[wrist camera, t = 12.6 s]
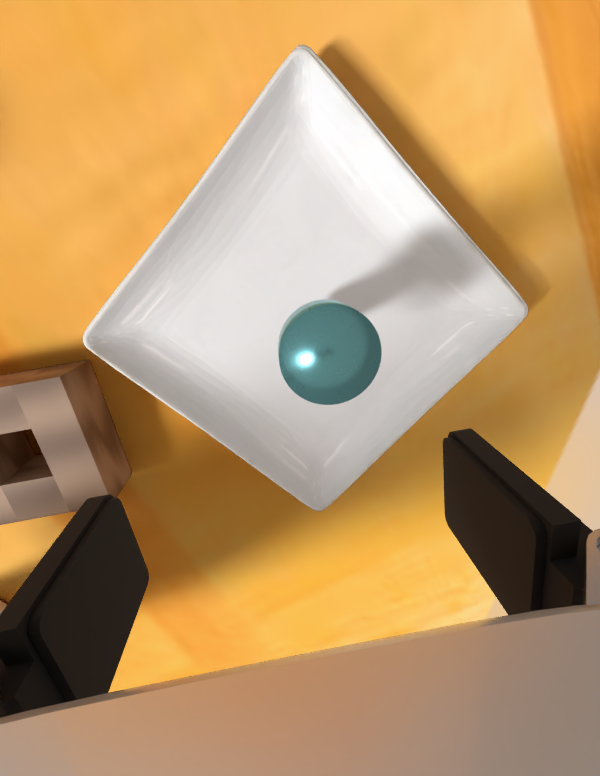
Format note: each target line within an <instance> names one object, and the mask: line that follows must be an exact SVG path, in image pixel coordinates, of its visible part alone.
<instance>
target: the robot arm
mask: <svg viewBox="0 0 600 776" xmlns="http://www.w3.org/2000/svg"><path fill="white" fill-rule="evenodd" d="M443 464H444V501H445V518H446V521H447V524H448V526H449V528H450V529H451V531H452V532H453V534H454V535H455V537H456V538H457V540H458V541H459V543H460V544H461V545H462V547H463V548H464V550H465V551H466V553H467V554H468V556H469V557H470V559H471V560H472V562H473V563H474V565H475V566H476V568H477V569H478V571H479V572H480V574H481V575H482V577H483V578H484V579H485V581H486V582H487V584H488V585H489V587H490V588H491V590H492V591H493V593H494V594H495V596H496V597H497V599H498V600H499V602H500V603H501V605H502V606H503V608H504V609H505V611H506V612H507V613H508V616H502V617H496V618H490V619H484V620H478V621H473V622H467V623H461V624H456V625H451V626H446V627H440V628H435V629H430V630H425V631H419V632H414V633H409V634H404V635H398V636H393V637H388V638H383V639H377V640H372V641H367V642H362V643H356V644H351V645H346V646H341V647H336V648H331V649H326V650H320V651H315V652H310V653H305V654H300V655H295V656H290V657H285V658H280V659H275V660H269V661H264V662H259V663H254V664H249V665H244V666H239V667H234V668H229V669H224V670H219V671H214V672H209V673H204V674H199V675H194V676H189V677H184V678H179V679H175V680H170V681H165V682H160V683H155V684H150V685H145V686H140V687H135V688H130V689H125V690H120V691H115V692H110V693H108V691H109V689H110V686H111V683H112V680H113V678H114V675H115V672H116V670H117V667H118V664H119V661H120V659H121V656H122V653H123V650H124V648H125V645H126V642H127V640H128V637H129V634H130V631H131V629H132V626H133V623H134V620H135V618H136V615H137V612H138V609H139V607H140V604H141V601H142V599H143V596H144V593H145V590H146V588H147V585H148V580H149V574H148V569H147V567H146V564H145V562H144V559H143V556H142V554H141V551H140V549H139V546H138V544H137V541H136V538H135V536H134V533H133V531H132V528H131V526H130V523H129V520H128V518H127V515H126V513H125V510H124V508H123V505H122V503H121V501H120V499H118V498H114V497H113V496H112V495H110V494H108V495H103V496H97V497H92V498H88V499H87V500H86V501H85V502H84V503H83V505H82V506H81V507H80V509H79V510H78V511H77V513H76V514H75V515H74V517H73V518H72V519H71V521H70V522H69V523H68V525H67V526H66V527H65V529H64V530H63V531H62V533H61V534H60V535H59V537H58V538H57V539H56V541H55V542H54V543H53V545H52V546H51V547H50V549H49V550H48V551H47V553H46V554H45V555H44V557H43V558H42V559H41V561H40V562H39V563H38V565H37V566H36V567H35V569H34V570H33V571H32V573H31V574H30V575H29V577H28V578H27V579H26V581H25V582H24V583H23V585H22V586H21V587H20V589H19V590H18V591H17V593H16V594H15V595H14V597H13V598H12V599H11V601H10V602H9V603H8V605H7V604H6V603H4V602H2V601H0V776H600V529H597V530H594V531H592V530H591V529H589V528H588V527H587V526H586V525H585V524H584V523H582V522H581V520H580V519H579V518H578V517H576V516H575V515H574V514H573V513H572V512H570V511H569V510H568V509H567V508H566V507H564V506H563V505H562V504H561V503H560V502H558V501H557V500H556V499H555V498H554V497H552V496H551V495H550V494H549V493H548V492H546V491H545V490H544V489H543V488H542V487H540V486H539V485H538V484H537V483H536V482H535V481H533V480H532V479H531V478H530V477H529V476H527V475H526V474H525V473H524V472H523V471H521V470H520V469H519V468H518V467H517V466H515V465H514V464H513V463H512V462H511V461H509V460H508V459H507V458H506V457H505V456H503V455H502V454H501V453H500V452H499V451H497V450H496V449H495V448H494V447H493V446H491V445H490V444H489V443H488V442H487V441H485V440H484V439H483V438H482V437H481V436H479V435H478V434H477V433H476V432H475V431H473V430H472V429H464V430H459V431H453V432H450V433H449V435H448V438H444V440H443Z"/></svg>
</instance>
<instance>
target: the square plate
mask: <svg viewBox="0 0 600 776" xmlns="http://www.w3.org/2000/svg"><path fill="white" fill-rule="evenodd" d="M322 299H331V300H337V301H340V302H343V303H345V304H347V305H349V306H351V307H352V308H354V309H356V310H357V311H359V312H360V313H362V314H363V315H364V316H365V317H367V318H368V319H369V320H370V322H371V323H372V324H373V326H374V327H375V329H376V331H377V333H378V335H379V338H380V342H381V350H382V355H381V362H380V367H379V369H378V372H377V374H376V376H375V378H374V380H373V381H372V383H371V384H370V385H369V386H368V387H367V389H366V390H364V391H363V392H362V393H361V394H360V395H358V396H357V397H355V398H353V399H351V400H349V401H347V402H344V403H340V404H334V405H321V404H316V403H312V402H309V401H307V400H305V399H303V398H301V397H300V396H298V395H297V394H296V393H295V392H294V391H292V390H291V388H290V387H289V386H288V385H287V383H286V381H285V380H284V378H283V375H282V373H281V369H280V365H279V356H278V340H279V335H280V332H281V329H282V327H283V325H284V323H285V322H286V320H287V319H288V317H289V316H290V315H291V314H292V313H293V312H294V311H295V310H297V309H298V308H299V307H301V306H303V305H305V304H307V303H309V302H312V301H316V300H322ZM527 314H528V306H527V304H526V302H525V301H524V300H523V298H522V297H521V296H520V294H519V293H518V292H517V291H516V290H515V288H514V287H513V286H512V285H511V284H510V282H509V281H508V280H507V279H506V278H505V276H504V275H503V274H502V273H501V272H500V271H499V270H498V269H497V267H496V266H495V265H494V264H493V263H492V262H491V261H490V259H489V258H488V257H487V256H486V255H485V254H484V253H483V251H482V250H481V249H480V248H479V247H478V246H477V245H476V243H475V242H474V241H473V240H472V239H471V238H470V237H469V235H468V234H467V233H466V232H465V231H464V230H463V228H462V227H461V226H460V225H459V224H458V223H457V222H456V220H455V219H454V218H453V217H452V216H451V215H450V214H449V212H448V211H447V210H446V209H445V208H444V207H443V205H442V204H441V203H440V202H439V201H438V199H437V198H436V197H435V196H434V195H433V193H432V192H431V191H430V190H429V189H428V188H427V186H426V185H425V184H424V183H423V182H422V180H421V179H420V178H419V177H418V176H417V174H416V173H415V172H414V171H413V170H412V168H411V167H410V166H409V165H408V164H407V162H406V161H405V160H404V159H403V157H402V156H401V155H400V154H399V153H398V151H397V150H396V149H395V148H394V147H393V145H392V144H391V143H390V142H389V141H388V139H387V138H386V137H385V136H384V134H383V133H382V132H381V131H380V129H379V128H378V127H377V126H376V124H375V123H374V122H373V121H372V119H371V118H370V117H369V116H368V115H367V113H366V112H365V111H364V110H363V109H362V107H361V106H360V105H359V104H358V103H357V101H356V100H355V99H354V98H353V96H352V95H351V94H350V93H349V91H348V90H347V89H346V88H345V87H344V85H343V84H342V83H341V82H340V81H339V80H338V78H337V77H336V76H335V75H334V74H333V72H332V71H331V70H330V69H329V68H328V67H327V66H326V65H325V63H324V62H323V61H322V60H321V59H320V58H319V57H318V56H317V55H316V54H315V52H314V51H313V50H312V49H311V48H310V47H308V46H305V45H299V46H298V47H297V48H295V49H294V50H293V51H292V52H291V54H290V55H289V56H288V57H287V58H286V60H285V61H284V62H283V63H282V65H281V66H280V67H279V69H278V70H277V71H276V73H275V74H274V75H273V77H272V78H271V79H270V81H269V82H268V84H267V85H266V86H265V88H264V89H263V91H262V92H261V93H260V95H259V96H258V97H257V99H256V101H255V102H254V104H253V105H252V106H251V107H250V109H249V110H248V112H247V113H246V115H245V116H244V118H243V119H242V121H241V122H240V123H239V125H238V126H237V128H236V129H235V131H234V132H233V134H232V135H231V136H230V138H229V139H228V141H227V142H226V144H225V145H224V146H223V148H222V149H221V151H220V152H219V154H218V155H217V156H216V158H215V159H214V161H213V162H212V163H211V165H210V166H209V168H208V169H207V170H206V172H205V173H204V175H203V176H202V177H201V179H200V180H199V181H198V183H197V184H196V186H195V187H194V188H193V190H192V191H191V193H190V194H189V195H188V197H187V198H186V199H185V201H184V202H183V203H182V205H181V206H180V207H179V209H178V210H177V211H176V213H175V214H174V215H173V217H172V218H171V219H170V221H169V222H168V223H167V225H166V226H165V227H164V229H163V230H162V231H161V232H160V234H159V235H158V236H157V238H156V239H155V240H154V241H153V243H152V244H151V245H150V247H149V248H148V249H147V251H146V252H145V253H144V254H143V256H142V257H141V258H140V260H139V261H138V262H137V263H136V265H135V266H134V267H133V268H132V270H131V271H130V272H129V274H128V275H127V276H126V277H125V278H124V280H123V281H122V282H121V283H120V285H119V286H118V287H117V289H116V290H115V291H114V292H113V294H112V295H111V296H110V297H109V299H108V300H107V301H106V303H105V304H104V305H103V307H102V308H101V309H100V311H99V312H98V313H97V315H96V316H95V318H94V319H93V320H92V322H91V323H90V324H89V326H88V327H87V329H86V331H85V332H84V335H83V343H84V345H85V346H86V348H88V349H89V350H90V351H91V352H92V353H94V354H95V355H96V356H98V357H99V358H101V359H102V360H103V361H105V362H106V363H107V364H109V365H110V366H112V367H113V368H114V369H116V370H117V371H119V372H120V373H122V374H123V375H125V376H126V377H127V378H129V379H130V380H132V381H133V382H135V383H136V384H137V385H139V386H140V387H142V388H143V389H145V390H146V391H148V392H149V393H151V394H152V395H153V396H155V397H156V398H158V399H159V400H160V401H162V402H163V403H165V404H166V405H168V406H169V407H171V408H172V409H173V410H175V411H176V412H178V413H179V414H180V415H182V416H183V417H185V418H186V419H188V420H189V421H191V422H192V423H193V424H195V425H196V426H198V427H199V428H200V429H202V430H203V431H205V432H206V433H207V434H209V435H210V436H212V437H213V438H214V439H216V440H217V441H219V442H220V443H221V444H223V445H224V446H225V447H227V448H228V449H230V450H231V451H232V452H234V453H235V454H236V455H238V456H239V457H240V458H242V459H243V460H245V461H246V462H247V463H249V464H250V465H251V466H253V467H254V468H255V469H257V470H258V471H260V472H261V473H262V474H264V475H265V476H266V477H268V478H269V479H270V480H272V481H273V482H275V483H276V484H277V485H279V486H280V487H281V488H283V489H284V490H285V491H287V492H288V493H290V494H291V495H293V496H294V497H295V498H297V499H298V500H299V501H301V502H302V503H304V504H305V505H307V506H308V507H310V508H312V509H313V510H315V511H322V510H324V509H326V508H327V507H328V506H329V505H330V504H331V503H332V502H334V501H335V500H336V499H337V498H338V497H339V496H340V495H341V494H342V493H343V492H344V491H345V490H346V489H347V488H349V487H350V486H351V485H352V484H353V483H354V482H355V481H356V480H357V479H358V478H359V477H360V476H361V475H362V474H363V473H364V472H365V471H366V470H367V469H368V468H369V467H370V466H371V465H372V464H373V463H374V462H375V461H376V460H377V459H378V458H379V457H380V456H381V455H382V454H383V453H385V452H386V451H387V450H388V449H389V448H390V447H391V446H392V445H393V444H394V443H395V442H396V441H397V440H398V439H399V438H400V437H401V436H402V435H403V434H404V433H405V432H406V431H407V430H408V429H409V428H410V427H411V426H413V425H414V424H415V423H416V422H417V421H418V420H419V419H420V418H421V417H422V416H423V415H424V414H425V413H426V412H427V411H428V410H429V409H430V408H431V407H432V406H433V405H435V404H436V403H437V402H438V401H439V400H440V399H441V398H442V397H443V396H444V395H445V394H446V393H447V392H448V391H449V390H450V389H452V388H453V387H454V386H455V385H456V384H457V383H458V382H459V381H460V380H461V379H462V378H463V377H464V376H466V375H467V374H468V373H469V372H470V371H471V370H472V369H473V368H474V367H475V366H476V365H477V364H478V363H479V362H480V361H481V360H482V359H484V358H485V357H486V356H487V355H488V354H489V353H490V352H491V351H492V350H493V349H494V348H495V347H496V346H497V345H499V344H500V343H501V342H502V341H503V340H504V339H505V338H506V337H507V336H508V335H509V334H510V333H511V332H512V331H513V330H514V329H515V328H516V327H517V326H518V325H519V324H520V323H521V322H522V321H523V320H524V319H525V317H526V316H527Z"/></svg>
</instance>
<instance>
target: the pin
mask: <svg viewBox="0 0 600 776" xmlns="http://www.w3.org/2000/svg"><path fill="white" fill-rule="evenodd" d="M381 355H382V350H381V342H380V338H379V335H378V333H377V331H376V329H375V327H374V326H373V324H372V323H371V322H370V320H369V319H368V318H367V317H365V316H364V315H363V314H362V313H360V312H359V311H357V310H356V309H354V308H352V307H351V306H349V305H347V304H345V303H343V302H340V301H337V300H331V299H322V300H316V301H312V302H309V303H307V304H305V305H303V306H301V307H299V308H298V309H297V310H295V311H294V312H293V313H292V314H291V315H290V316H289V317H288V319H287V320H286V322H285V323H284V325H283V327H282V329H281V332H280V335H279V340H278V356H279V365H280V369H281V373H282V375H283V378H284V380H285V381H286V383H287V385H288V386H289V387H290V388H291V390H292V391H294V392H295V393H296V394H297V395H298V396H300V397H301V398H303V399H305V400H307V401H309V402H312V403H316V404H321V405H334V404H340V403H344V402H347V401H349V400H351V399H353V398H355V397H357V396H358V395H360V394H361V393H362V392H363V391H364V390H366V389H367V387H368V386H369V385H370V384H371V383H372V381H373V380H374V378H375V376H376V374H377V372H378V369H379V367H380V362H381Z"/></svg>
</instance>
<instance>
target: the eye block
mask: <svg viewBox="0 0 600 776" xmlns="http://www.w3.org/2000/svg"><path fill="white" fill-rule="evenodd" d="M28 429H31V430H32V432H33V434H34V436H35V438H36V440H37V442H38V445H39V447H40V449H41V451H42V453H43V454H41V455H36V456H35V453H34V451H33V449H32V447H31V445H30V443H29V441H28V439H27V437H26V435H25V432H24V430H28ZM131 474H132V471H131V468H130V466H129V463H128V460H127V458H126V455H125V452H124V450H123V447H122V444H121V442H120V439H119V437H118V434H117V431H116V429H115V426H114V423H113V421H112V418H111V415H110V413H109V410H108V407H107V405H106V402H105V399H104V397H103V394H102V391H101V389H100V386H99V384H98V381H97V378H96V376H95V373H94V370H93V368H92V365H91V362H90V360H84V361H78V362H73V363H67V364H62V365H56V366H50V367H45V368H39V369H34V370H28V371H22V372H17V373H11V374H5V375H0V525H2V524H8V523H13V522H18V521H24V520H29V519H35V518H40V517H46V516H51V515H56V514H62V513H67V512H73V511H78V510H79V509H80V507H81V506H82V505H83V503H84V502H85V501H86V500H87V499H88V498H92V497H97V496H103V495H108V494H110V495H112V496H113V497H114V498H117V496H118V494H119V493H120V491H121V490H122V488H123V487H124V485H125V483H126V482H127V480H128V479H129V477H130V475H131Z"/></svg>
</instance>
